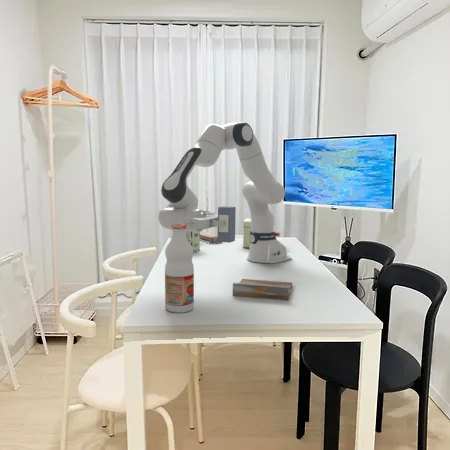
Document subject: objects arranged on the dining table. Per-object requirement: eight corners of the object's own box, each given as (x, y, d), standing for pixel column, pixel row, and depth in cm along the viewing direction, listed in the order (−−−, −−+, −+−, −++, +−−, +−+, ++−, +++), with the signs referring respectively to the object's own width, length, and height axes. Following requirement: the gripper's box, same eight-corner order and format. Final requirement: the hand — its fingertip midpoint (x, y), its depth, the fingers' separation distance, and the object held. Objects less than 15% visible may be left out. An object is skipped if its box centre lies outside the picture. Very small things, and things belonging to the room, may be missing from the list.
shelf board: (242, 282, 175) (242, 271, 174) (292, 286, 171) (292, 274, 170) (232, 295, 157) (232, 283, 157) (287, 300, 153) (288, 288, 152)
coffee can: (185, 247, 243) (185, 222, 241) (202, 249, 240) (202, 223, 238) (177, 251, 233) (177, 225, 231) (195, 252, 230) (195, 226, 228)
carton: (223, 240, 168) (223, 206, 167) (234, 240, 166) (235, 207, 165) (217, 241, 164) (217, 207, 162) (229, 242, 161) (229, 207, 160)
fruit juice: (164, 304, 147) (163, 223, 143) (191, 303, 149) (191, 222, 145) (166, 314, 138) (165, 227, 134) (195, 312, 140) (195, 226, 136)
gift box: (276, 248, 242) (276, 218, 240) (242, 248, 242) (243, 217, 240) (273, 243, 259) (273, 214, 256) (242, 242, 259) (242, 214, 257)
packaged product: (224, 235, 258) (209, 237, 252) (224, 243, 258) (209, 245, 253) (209, 231, 273) (195, 232, 268) (209, 238, 274) (195, 240, 268)
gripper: (182, 214, 160) (216, 216, 154) (207, 210, 178) (239, 212, 172) (182, 231, 160) (216, 234, 155) (207, 225, 179) (238, 227, 173)
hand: (228, 222), depth 164 cm, fingers closed on carton, 5 cm apart
